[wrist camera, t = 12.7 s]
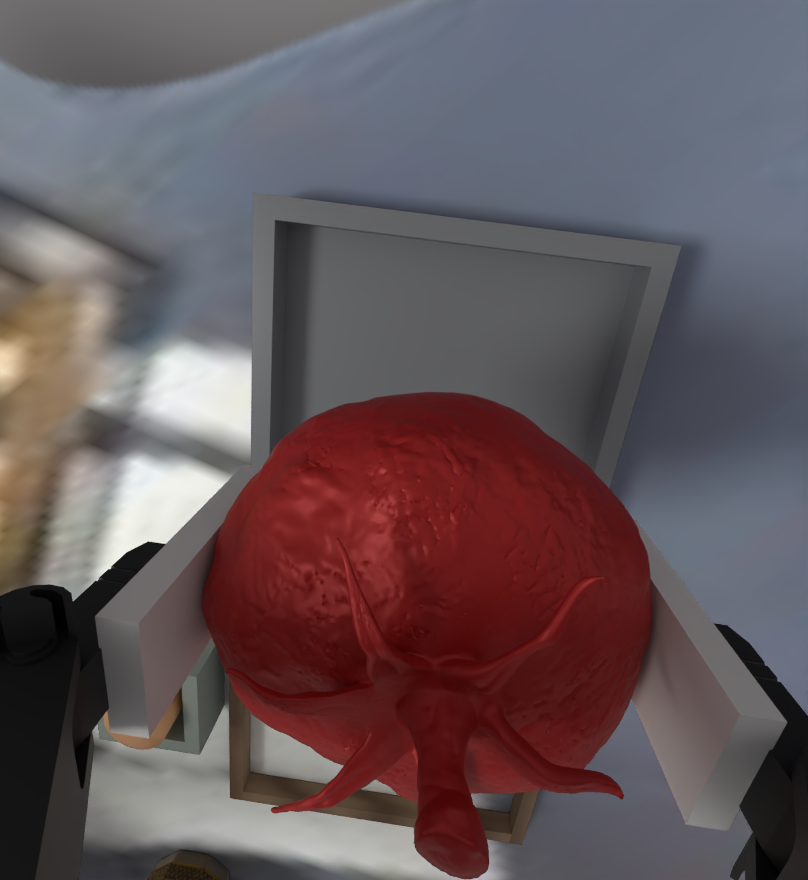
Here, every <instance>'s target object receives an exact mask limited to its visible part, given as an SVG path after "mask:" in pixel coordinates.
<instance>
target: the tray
mask: <svg viewBox="0 0 808 880" xmlns="http://www.w3.org/2000/svg"><path fill="white" fill-rule="evenodd" d="M680 250H681V246H680V245H672V244H664V243H656V242H648V241H640V240H631V239H623V238H615V237H607V236H599V235H591V234H583V233H575V232H567V231H559V230H551V229H543V228H535V227H527V226H519V225H511V224H503V223H495V222H487V221H478V220H470V219H462V218H454V217H446V216H438V215H430V214H422V213H414V212H406V211H398V210H390V209H382V208H374V207H366V206H358V205H350V204H342V203H334V202H325V201H317V200H309V199H301V198H293V197H285V196H277V195H269V194H261V193H253V286H252V402H251V466H258V467H263V465H264V464H265V462H266V460H267V459H268V458H269V456H270V455H271V453H272V451H273V449H274V447H275V446H276V444H277V443H278V442H279V441H280V440H281V439H282V438H283V437H285V436H286V435H287V434H289V433H290V432H292V431H293V430H294V429H295V428H297V427H298V426H299V425H300V424H302V423H304V422H305V421H306V420H308V419H309V418H311V417H313V416H315V415H318V414H320V413H323V412H325V411H327V410H329V409H332V408H335V407H337V406H340V405H343V404H347V403H356V402H363V401H367V400H370V399H372V398H375V397H382V396H390V395H399V394H408V393H419V392H455V393H463V394H470V395H476V396H479V397H482V398H485V399H488V400H492V401H494V402H497V403H499V404H502V405H504V406H507V407H510V408H512V409H514V410H515V411H517V412H519V413H521V414H523V415H524V416H526V417H527V418H528V419H530V420H531V421H532V422H534V423H535V424H536V425H537V426H538V427H539V428H540V429H541V430H542V431H543V432H545V433H546V434H547V435H548V436H550V437H551V438H553V439H554V440H556V441H558V442H559V443H561V444H562V445H563V446H565V447H566V448H567V449H568V450H569V451H570V452H572V453H573V454H575V455H576V456H577V457H578V458H580V459H581V460H582V461H583V462H585V463H586V464H587V465H588V466H589V467H590V468H591V469H592V470H593V471H594V473H595V474H596V475H597V476H598V477H599V478H600V479H601V480H602V481H603V482H604V483H605V484H606V485H607V486H608V488H609V489H610V485H611V482H612V479H613V475H614V472H615V468H616V465H617V462H618V458H619V455H620V452H621V448H622V445H623V442H624V438H625V435H626V431H627V428H628V425H629V421H630V418H631V415H632V411H633V408H634V405H635V401H636V398H637V394H638V391H639V388H640V384H641V381H642V378H643V374H644V371H645V368H646V364H647V361H648V357H649V354H650V351H651V347H652V344H653V341H654V337H655V334H656V330H657V327H658V324H659V320H660V317H661V314H662V310H663V307H664V304H665V300H666V297H667V293H668V290H669V287H670V283H671V280H672V277H673V273H674V270H675V267H676V263H677V260H678V256H679V253H680Z"/></svg>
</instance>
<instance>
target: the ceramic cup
mask: <svg viewBox="0 0 808 880" xmlns="http://www.w3.org/2000/svg"><path fill="white" fill-rule="evenodd" d="M147 880H229V871H228V870H227V869H226V868H225V867H223V866H222V865H221V864H220V863H218V862H217V861H216V860H215V859H213V858H212V857H211V856H210V855H207V854H202V853H196V852H190V851H184V850H179V851H177V852H175V853H173V854H171V855H169V856H167V857H165V858H163V859H161V860H160V861H159V862H158V864H157V865H156V867H155V868H154V870H153V872H152V873H151V874H150V876H149V878H148V879H147Z"/></svg>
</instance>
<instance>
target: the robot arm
mask: <svg viewBox="0 0 808 880" xmlns="http://www.w3.org/2000/svg"><path fill="white" fill-rule="evenodd" d="M261 468H262V467H258V466H251V465H243V466H242V467H241V468H240V469H239V470H238V471H237V472H236V473H235V474H234V475H233V476H232V478H231V479H230V480H229V481H228V482H227V483H226V484H225V485H224V486H223V487H222V488H221V489H220V490H219V491H218V492H217V493H216V494H215V495H214V496H213V497H212V498H211V499H210V500H209V501H208V502H207V503H206V504H205V505H204V506H203V507H202V508H201V509H200V510H199V511H198V512H197V513H196V514H195V515H194V516H193V517H192V518H191V519H190V520H189V521H188V522H187V523H186V524H185V525H184V526H183V527H182V528H181V529H180V530H179V531H178V532H177V533H176V534H175V535H174V536H173V538H172V539H171V540H170V541H169V542H168V543H167V544H161V543H154V542H147V543H145V544H143V545H141V546H139V547H137V548H135V549H133V550H131V551H129V552H127V553H126V554H125V555H123V556H122V557H121V558H120V559H119V560H118V561H117V562H116V563H115V564H114V565H113V566H112V568H111V569H108V570H107V571H106V572H105V573H104V574H103V575H102V576H101V577H100V578H99V580H98V581H95V582H94V583H93V584H92V585H91V586H90V587H89V588H88V589H86V590H85V591H84V592H83V593H82V594H81V595H80V596H79V597H78V598H77V599H76V600H74V601H72V595H71V593H70V592H69V591H67V590H66V589H65V588H64V587H59V586H55V585H33V586H29V587H25V588H20V589H16V590H13V591H11V592H8V593H6V594H4V595H2V596H0V880H79V875H80V866H81V857H82V848H83V840H84V831H85V822H86V813H87V804H88V796H89V787H90V778H91V769H92V760H93V751H94V741H93V734H92V730H93V729H94V727H95V726H96V725H97V723H98V722H99V721H100V719H101V718H102V717H103V715H104V714H105V713H106V711H107V712H108V720H109V727H110V732H111V733H117V734H124V735H130V736H136V737H143V738H150V737H151V735H152V733H153V732H154V730H155V729H156V727H157V725H158V724H159V722H160V720H161V719H162V717H163V716H164V714H165V712H166V711H167V709H168V707H169V706H170V704H171V703H172V701H173V699H174V698H175V696H176V694H177V693H178V691H179V690H180V688H181V686H182V685H183V683H184V682H185V680H186V678H187V677H188V675H189V673H190V672H191V670H192V669H193V667H194V665H195V664H196V662H197V660H198V659H199V657H200V656H201V654H202V652H203V651H204V649H205V647H206V646H207V644H208V643H209V641H210V639H211V638H212V637H211V633H210V631H209V629H208V627H207V623H206V620H205V618H204V614H203V612H202V608H201V605H202V598H203V591H204V587H205V583H206V581H207V578H208V577H209V573H210V569H211V566H212V564H213V561H214V550H215V545H216V542H217V539H218V535H219V532H220V529H221V527H222V525H223V523H224V520H225V518H226V515H227V513H228V511H229V509H230V508H231V507H232V505H233V504H234V502H235V500H236V499H237V497H238V495H239V494H240V492H241V491H242V489H243V488H244V487H245V485H246V484H247V483H248V482H249V480H250V479H251V478H252V477H253V476H254V475H255V474H257V473H258V472H259V471H260V470H261ZM634 521H635V523H636V525H637V527H638V529H639V534H640V537H641V539H642V541H643V543H644V545H645V548H646V550H647V553H648V559H649V564H650V592H651V610H652V626H651V636H650V640H649V642H648V645H647V647H646V650H645V653H644V655H643V657H642V659H641V667H640V670H639V676H638V680H637V684H636V687H635V690H634V692H633V696H632V701H633V703H634V705H635V708H636V710H637V712H638V715H639V717H640V719H641V721H642V724H643V726H644V728H645V731H646V733H647V735H648V738H649V740H650V742H651V745H652V747H653V749H654V752H655V754H656V756H657V759H658V761H659V763H660V766H661V768H662V770H663V773H664V775H665V777H666V780H667V782H668V784H669V787H670V789H671V791H672V793H673V796H674V798H675V800H676V803H677V805H678V807H679V810H680V812H681V814H682V817H683V819H684V821H685V824H686V825H692V826H698V827H704V828H711V829H717V830H723V831H728V830H729V829H730V827H731V825H732V823H733V821H734V819H735V818H736V816H737V814H738V812H739V810H740V809H741V811H742V813H743V814H744V816H745V818H746V820H747V822H748V824H749V825H750V827H751V829H752V831H753V833H752V835H751V836H750V838H749V840H748V842H747V843H746V845H745V847H744V848H743V850H742V852H741V854H740V855H739V857H738V859H737V861H736V862H735V864H734V866H733V869H732V872H731V875H730V877H731V878H733V879H734V880H738V879H739V877H740V876H741V874H742V872H743V871H745V880H808V716H807V715H806V713H805V712H804V711H803V710H802V708H801V707H800V706H799V705H798V703H797V702H796V701H795V700H794V698H793V697H792V696H791V695H790V693H789V692H788V691H787V690H786V688H785V687H784V686H783V685H782V683H781V682H778V681H777V677H776V676H775V675H774V673H773V672H772V671H771V670H770V668H769V667H768V666H765V664H764V663H765V662H764V661H763V660H762V658H761V657H760V656H759V655H758V653H757V652H756V651H755V650H754V648H753V647H752V646H751V645H750V643H748V642H747V641H746V640H745V639H743V638H742V637H741V636H740V635H738V634H737V633H736V632H735V631H733V630H732V629H731V628H730V627H728V626H727V625H721V624H714V623H713V622H712V621H711V619H710V618H709V617H708V615H707V614H706V613H705V611H704V610H703V609H702V607H701V606H700V605H699V603H698V602H697V601H696V599H695V598H694V597H693V595H692V594H691V593H690V591H689V590H688V589H687V587H686V586H685V584H684V583H683V582H682V580H681V579H680V578H679V576H678V575H677V574H676V572H675V571H674V570H673V568H672V567H671V566H670V564H669V563H668V562H667V560H666V559H665V558H664V556H663V555H662V554H661V552H660V551H659V550H658V548H657V547H656V546H655V544H654V543H653V542H652V540H651V539H650V538H649V536H648V535H647V534H646V532H645V531H644V530H643V528H642V527H641V526H640V524H639V523H638V522H637V520H634Z"/></svg>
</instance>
